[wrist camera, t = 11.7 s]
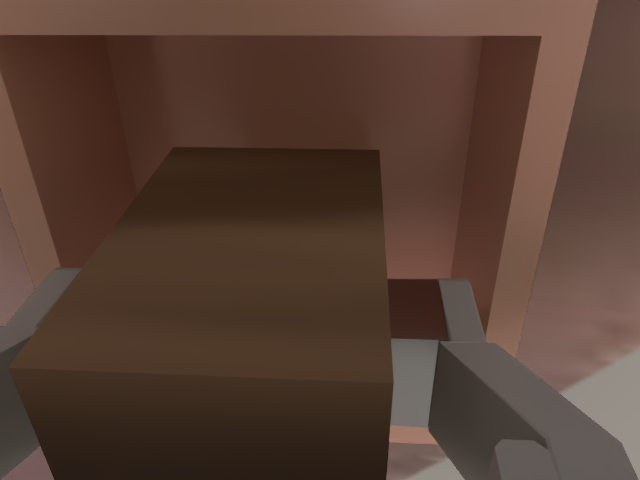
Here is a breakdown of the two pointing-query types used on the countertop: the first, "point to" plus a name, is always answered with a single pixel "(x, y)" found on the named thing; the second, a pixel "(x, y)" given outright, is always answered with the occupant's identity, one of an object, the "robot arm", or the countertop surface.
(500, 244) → the peach open box
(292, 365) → the block
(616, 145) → the countertop surface
